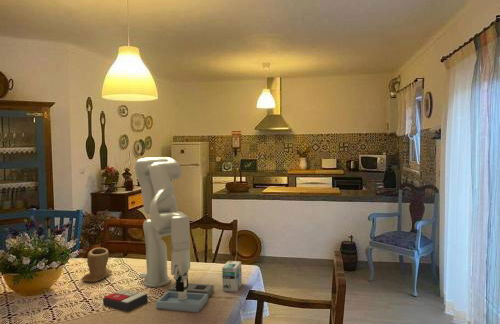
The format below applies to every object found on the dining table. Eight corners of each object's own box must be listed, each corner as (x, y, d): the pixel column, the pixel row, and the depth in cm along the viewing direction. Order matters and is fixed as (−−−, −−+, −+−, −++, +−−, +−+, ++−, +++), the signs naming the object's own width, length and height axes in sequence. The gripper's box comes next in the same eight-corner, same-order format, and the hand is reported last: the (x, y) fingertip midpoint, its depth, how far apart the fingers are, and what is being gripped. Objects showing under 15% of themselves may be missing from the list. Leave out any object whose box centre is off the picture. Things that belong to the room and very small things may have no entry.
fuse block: (168, 295, 172) (168, 288, 171) (175, 288, 179) (175, 282, 179) (207, 298, 168) (207, 291, 167) (213, 291, 175) (213, 284, 175)
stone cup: (99, 284, 187) (98, 253, 186) (78, 282, 190) (77, 252, 189) (118, 274, 201) (117, 245, 201) (99, 272, 205) (97, 243, 204)
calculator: (123, 287, 173) (147, 292, 165) (123, 297, 173) (148, 302, 165) (102, 296, 163) (127, 301, 156) (103, 306, 164) (128, 312, 156)
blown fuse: (176, 300, 160) (175, 276, 159) (180, 297, 164) (179, 273, 163) (185, 301, 159) (184, 277, 159) (188, 297, 163) (188, 274, 162)
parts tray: (156, 308, 158) (156, 301, 158) (168, 298, 169) (167, 291, 169) (198, 312, 154) (198, 304, 154) (207, 300, 165) (207, 293, 165)
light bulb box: (236, 292, 174) (236, 268, 173) (222, 291, 175) (221, 267, 174) (242, 283, 184) (241, 261, 184) (228, 282, 185) (227, 260, 185)
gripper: (180, 239, 169) (181, 281, 170) (163, 250, 153) (165, 296, 154) (196, 240, 167) (197, 282, 168) (181, 251, 151) (183, 298, 152)
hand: (182, 288), depth 161 cm, fingers closed on blown fuse, 3 cm apart
